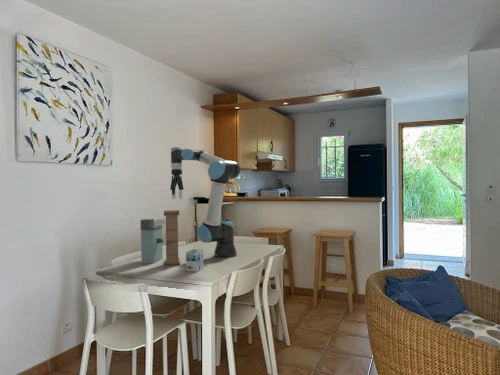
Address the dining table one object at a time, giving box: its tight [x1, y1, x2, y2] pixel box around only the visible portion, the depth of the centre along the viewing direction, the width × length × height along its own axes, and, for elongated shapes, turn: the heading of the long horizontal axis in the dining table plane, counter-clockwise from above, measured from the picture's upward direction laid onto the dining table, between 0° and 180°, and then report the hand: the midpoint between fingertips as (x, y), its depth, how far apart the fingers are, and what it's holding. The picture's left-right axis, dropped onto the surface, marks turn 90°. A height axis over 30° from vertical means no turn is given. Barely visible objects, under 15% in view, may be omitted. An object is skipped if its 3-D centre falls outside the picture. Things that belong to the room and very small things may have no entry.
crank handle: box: [140, 218, 166, 228], centre depth 242 cm, size 28×6×5 cm, turn 171°
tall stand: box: [163, 209, 181, 267], centre depth 230 cm, size 15×9×32 cm, turn 11°
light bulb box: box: [185, 248, 204, 273], centre depth 210 cm, size 11×7×11 cm, turn 169°
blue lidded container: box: [139, 224, 164, 264], centre depth 238 cm, size 11×15×22 cm
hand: (177, 199), depth 266 cm, fingers open, 13 cm apart
